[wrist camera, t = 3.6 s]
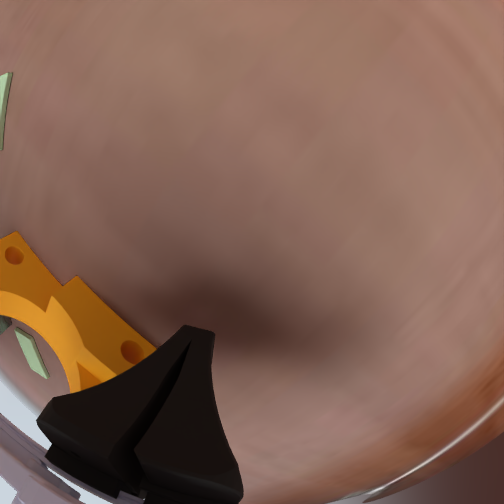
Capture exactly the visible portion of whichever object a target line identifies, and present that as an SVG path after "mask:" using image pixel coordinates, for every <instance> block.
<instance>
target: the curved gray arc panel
mask: <svg viewBox="0 0 504 504" xmlns="http://www.w3.org/2000/svg"><path fill="white" fill-rule="evenodd" d="M10 325H12V322H11V320H10V317H9V316H5V315H0V335H1V334H2V333H3V332H4V331H5V330H6V329H7V328H8V327H9V326H10Z"/></svg>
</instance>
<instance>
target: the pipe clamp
mask: <svg viewBox="0 0 504 504" xmlns="http://www.w3.org/2000/svg"><path fill="white" fill-rule="evenodd" d="M0 315H5V316H9V317H12V318H15V319H17V320H19V321H21V322H23V323H25V324H27V325H28V326H30V327H31V328H33V329H34V330H35V331H37V332H38V333H39V334H40V335H41V336H42V337H43V338H44V339H45V340H46V341H47V342H48V343H49V345H50V346H51V347H52V349H53V350H54V351H55V353H56V354H57V356H58V358H59V359H60V361H61V363H62V365H63V368H64V370H65V372H66V376H67V379H68V383H69V387H70V393H75V392H78V391H81V390H84V389H87V388H90V387H93V386H95V385H98V384H100V383H103V382H105V381H107V380H109V379H111V378H113V377H115V376H117V375H119V374H121V373H123V372H125V371H126V370H128V369H130V368H131V367H133V366H135V365H136V364H138V363H139V362H140V361H142V360H143V359H145V358H146V357H147V356H149V355H150V354H152V353H153V352H154V351H155V350H157V348H155V347H154V346H153V345H152V344H150V343H149V342H148V341H147V340H146V339H144V338H143V337H142V336H141V335H140V334H138V333H137V332H136V331H135V330H134V329H133V328H131V327H130V326H129V325H128V324H127V323H126V322H125V321H123V320H122V319H121V318H120V317H119V316H118V315H117V314H116V313H115V312H114V311H112V310H111V309H110V308H109V307H108V306H107V305H106V304H105V303H104V302H103V301H102V300H101V299H100V298H99V297H98V296H97V295H96V294H95V293H94V292H93V291H92V290H91V289H90V288H89V287H88V286H87V285H86V284H85V283H84V282H83V281H82V280H81V279H80V278H79V277H78V276H75V277H74V278H73V279H72V280H70V281H69V282H68V283H66V284H65V285H64V286H62V285H61V284H60V283H59V282H58V281H57V280H56V279H55V277H54V276H53V275H52V274H51V273H50V272H49V271H48V269H47V268H46V267H45V266H44V265H43V263H42V262H41V261H40V260H39V259H38V257H37V256H36V255H35V254H34V252H33V251H32V250H31V249H30V247H29V246H28V245H27V243H26V242H25V241H24V239H23V238H22V237H21V235H20V234H19V233H18V231H15V232H13V233H11V234H9V235H8V236H6V237H4V238H2V239H0Z"/></svg>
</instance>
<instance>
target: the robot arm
mask: <svg viewBox="0 0 504 504" xmlns="http://www.w3.org/2000/svg"><path fill="white" fill-rule="evenodd" d="M214 340H215V333H214V332H212V331H208V330H204V329H200V328H196V327H192V326H188V325H184V326H182V327H181V328H180V329H179V330H178V331H177V332H176V333H175V334H174V335H173V336H172V337H171V338H170V339H169V340H167V341H166V342H165V343H164V344H163V345H162V346H160V347H159V348H158V349H157V350H155V351H154V352H153V353H152V354H150V355H149V356H147V357H146V358H145V359H143V360H142V361H140V362H139V363H138V364H136V365H135V366H133V367H131V368H130V369H128V370H126V371H125V372H123V373H121V374H119V375H117V376H115V377H113V378H111V379H109V380H107V381H105V382H103V383H100V384H98V385H95V386H93V387H90V388H87V389H84V390H81V391H78V392H75V393H71V394H66V395H62V396H58V397H53V398H52V400H51V401H50V402H49V403H48V404H47V405H46V407H45V408H44V410H43V411H42V413H41V414H40V415H39V417H38V418H37V420H36V421H37V425H38V427H39V428H40V430H41V431H42V432H43V433H44V434H45V436H46V437H47V438H48V439H49V441H50V442H51V443H52V445H51V447H50V448H49V450H46V449H45V448H44V447H42V446H41V445H39V444H38V443H36V442H35V441H34V440H32V439H31V438H30V437H28V436H27V435H26V434H25V433H23V432H22V431H21V430H20V429H18V428H17V427H16V426H15V425H13V424H12V423H11V422H10V421H9V420H7V419H6V418H5V417H4V416H3V415H2V414H1V413H0V476H1V477H2V478H3V479H4V480H5V481H6V482H7V483H8V484H9V485H10V486H12V487H13V488H14V489H15V490H16V491H17V494H16V496H15V498H14V500H13V502H12V504H85V503H83V502H81V501H79V498H80V493H78V492H77V491H75V490H74V489H73V488H71V487H70V486H68V485H67V484H66V483H65V482H63V481H62V480H61V479H60V478H58V477H57V476H56V475H54V474H53V473H52V472H50V471H49V470H48V468H47V467H49V468H50V469H52V470H53V471H55V472H56V473H58V474H59V475H61V476H63V477H64V478H66V479H67V480H69V481H71V482H72V483H74V484H76V485H77V486H79V487H81V488H83V489H85V490H86V491H88V492H90V493H92V494H94V495H96V496H98V497H100V498H102V499H104V500H106V501H108V502H110V503H113V504H238V503H239V502H240V501H241V499H242V498H243V492H244V491H243V484H242V479H241V475H240V472H239V467H238V463H237V461H236V459H235V457H234V455H233V453H232V451H231V449H230V446H229V444H228V441H227V439H226V436H225V433H224V430H223V427H222V424H221V421H220V417H219V414H218V410H217V406H216V401H215V396H214V390H213V383H212V372H211V364H212V357H213V348H214ZM143 499H145V500H143Z"/></svg>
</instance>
